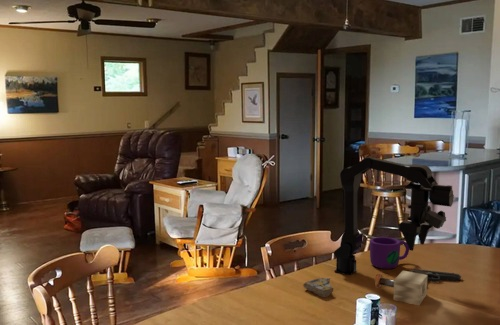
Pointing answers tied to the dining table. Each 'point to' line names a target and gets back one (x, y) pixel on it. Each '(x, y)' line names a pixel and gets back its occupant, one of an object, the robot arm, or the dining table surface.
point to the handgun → (438, 275)
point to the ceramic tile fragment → (319, 286)
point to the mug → (386, 252)
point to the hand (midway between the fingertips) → (416, 247)
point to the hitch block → (410, 287)
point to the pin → (383, 281)
